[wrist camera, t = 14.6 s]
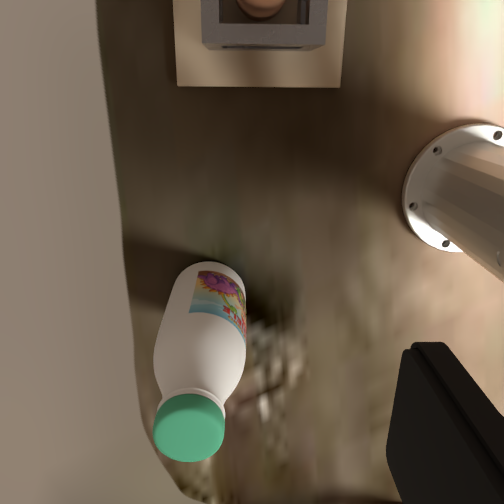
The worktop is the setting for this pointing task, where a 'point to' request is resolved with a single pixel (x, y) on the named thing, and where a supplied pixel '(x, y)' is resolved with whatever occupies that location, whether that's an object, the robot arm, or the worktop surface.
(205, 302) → the milk bottle
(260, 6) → the peg
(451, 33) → the worktop surface
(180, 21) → the collar stand
